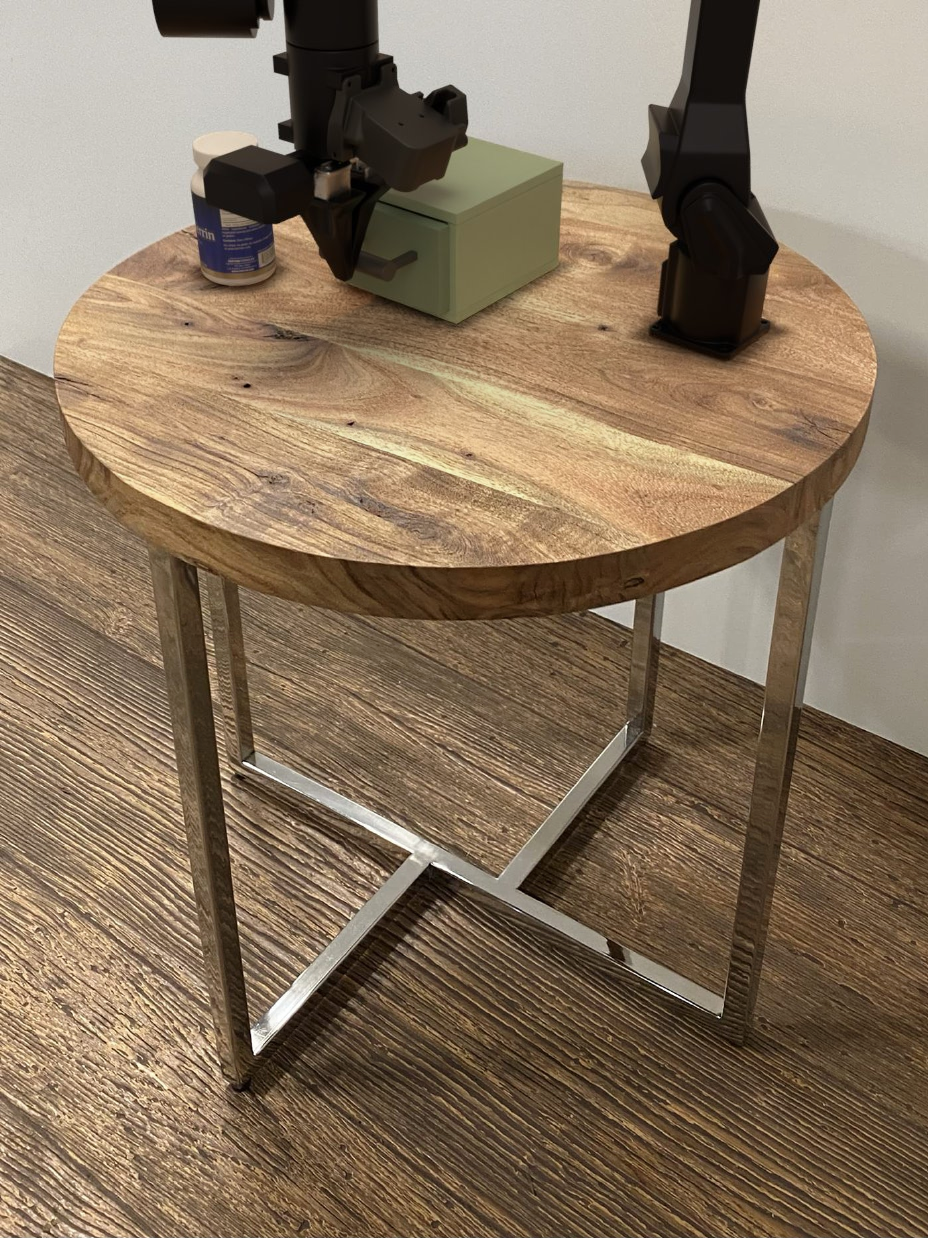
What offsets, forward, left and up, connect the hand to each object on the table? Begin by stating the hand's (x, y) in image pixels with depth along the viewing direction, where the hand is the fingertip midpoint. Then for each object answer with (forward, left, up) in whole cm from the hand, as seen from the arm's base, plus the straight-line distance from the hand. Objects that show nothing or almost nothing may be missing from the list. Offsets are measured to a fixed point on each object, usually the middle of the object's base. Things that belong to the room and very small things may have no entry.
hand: (343, 279), depth 90 cm
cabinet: (0, -12, -4) cm, 13 cm away
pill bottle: (+13, -2, -4) cm, 14 cm away
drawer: (0, -9, -3) cm, 9 cm away
